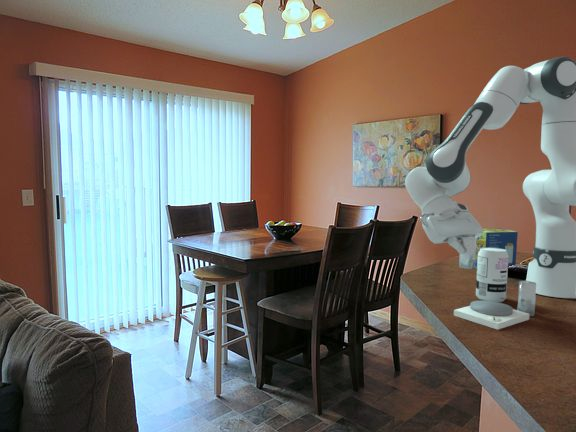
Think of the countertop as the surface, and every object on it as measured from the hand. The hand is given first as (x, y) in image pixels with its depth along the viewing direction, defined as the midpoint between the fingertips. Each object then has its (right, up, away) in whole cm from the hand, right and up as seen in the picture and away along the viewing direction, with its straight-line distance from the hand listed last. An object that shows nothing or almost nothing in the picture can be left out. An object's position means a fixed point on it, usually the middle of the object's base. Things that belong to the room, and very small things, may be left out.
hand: (469, 251), depth 114 cm
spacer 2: (+13, -16, -3) cm, 21 cm away
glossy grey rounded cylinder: (0, -4, +1) cm, 4 cm away
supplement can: (+11, -15, +10) cm, 21 cm away
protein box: (+32, -12, +55) cm, 65 cm away
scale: (+3, -17, -7) cm, 18 cm away
